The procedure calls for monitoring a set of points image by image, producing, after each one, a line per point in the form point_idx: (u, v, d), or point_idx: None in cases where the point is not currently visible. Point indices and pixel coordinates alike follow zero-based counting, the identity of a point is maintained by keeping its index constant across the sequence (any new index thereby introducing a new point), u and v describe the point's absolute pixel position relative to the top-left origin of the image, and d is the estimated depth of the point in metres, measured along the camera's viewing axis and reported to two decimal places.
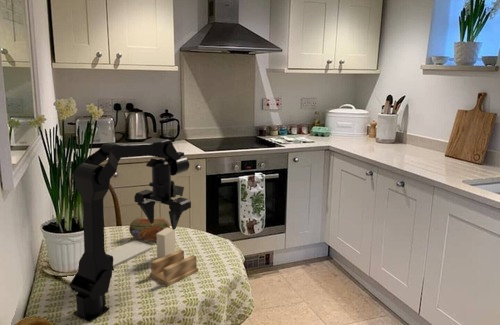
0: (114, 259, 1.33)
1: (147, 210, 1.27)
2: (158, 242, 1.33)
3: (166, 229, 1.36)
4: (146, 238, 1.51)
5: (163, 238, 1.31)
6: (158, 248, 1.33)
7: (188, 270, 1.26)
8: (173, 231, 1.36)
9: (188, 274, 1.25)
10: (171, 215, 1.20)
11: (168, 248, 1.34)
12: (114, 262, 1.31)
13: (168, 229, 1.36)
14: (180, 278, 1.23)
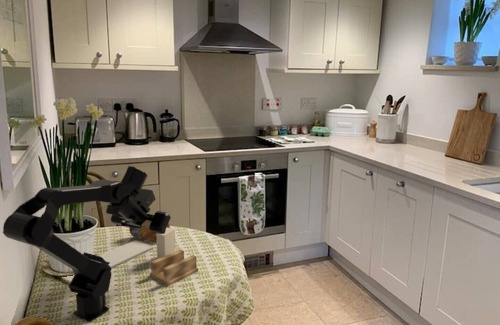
0: (114, 259, 1.33)
1: (130, 225, 1.25)
2: (158, 242, 1.33)
3: (166, 229, 1.36)
4: (146, 238, 1.51)
5: (163, 238, 1.31)
6: (158, 248, 1.33)
7: (188, 270, 1.26)
8: (173, 231, 1.36)
9: (188, 274, 1.25)
10: None
11: (168, 248, 1.34)
12: (114, 262, 1.31)
13: (168, 229, 1.36)
14: (180, 278, 1.23)
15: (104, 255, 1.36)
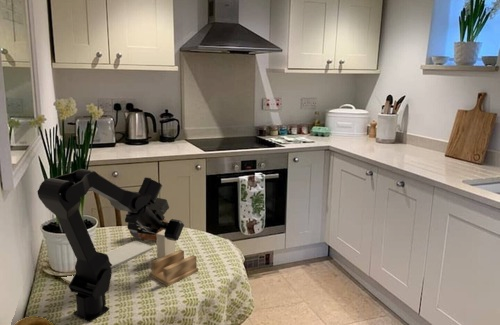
0: (114, 259, 1.33)
1: (145, 231, 1.32)
2: (158, 242, 1.33)
3: None
4: (146, 238, 1.51)
5: (163, 238, 1.31)
6: (158, 248, 1.33)
7: (188, 270, 1.26)
8: None
9: (188, 274, 1.25)
10: None
11: (168, 248, 1.34)
12: (114, 262, 1.31)
13: None
14: (180, 278, 1.23)
15: None
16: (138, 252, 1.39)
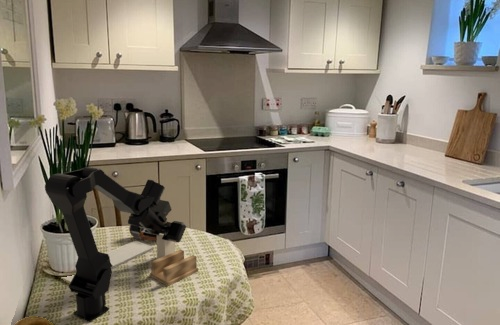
0: (115, 259, 1.33)
1: (155, 235, 1.33)
2: (158, 242, 1.33)
3: None
4: (146, 238, 1.51)
5: None
6: (158, 248, 1.33)
7: (188, 270, 1.26)
8: None
9: (188, 274, 1.25)
10: (165, 239, 1.29)
11: (168, 248, 1.34)
12: (115, 262, 1.31)
13: None
14: (180, 278, 1.23)
15: None
16: (138, 252, 1.38)
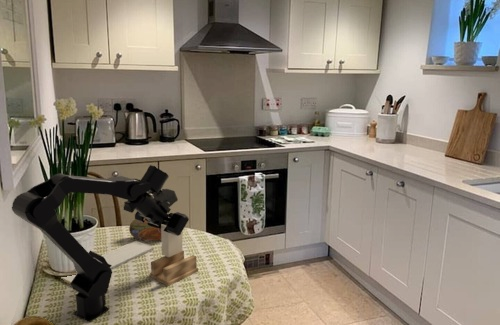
0: (115, 260, 1.33)
1: (159, 226, 1.24)
2: (162, 234, 1.24)
3: None
4: (146, 238, 1.51)
5: None
6: (163, 240, 1.24)
7: (188, 270, 1.26)
8: None
9: (188, 274, 1.25)
10: (167, 231, 1.20)
11: (173, 242, 1.25)
12: (115, 263, 1.31)
13: None
14: (180, 278, 1.23)
15: (105, 256, 1.35)
16: (138, 252, 1.38)
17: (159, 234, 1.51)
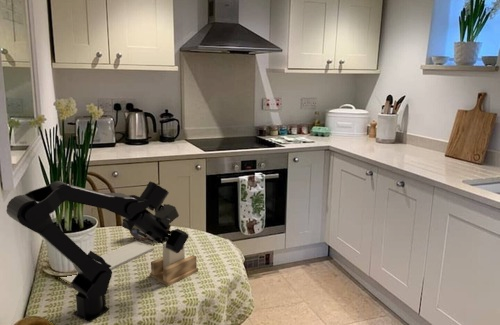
0: (115, 260, 1.32)
1: (159, 240, 1.24)
2: (164, 252, 1.23)
3: None
4: (146, 238, 1.51)
5: (168, 249, 1.22)
6: (164, 259, 1.24)
7: (188, 270, 1.26)
8: None
9: (188, 274, 1.25)
10: None
11: (174, 260, 1.24)
12: (115, 263, 1.30)
13: None
14: (180, 278, 1.23)
15: (105, 256, 1.35)
16: (139, 252, 1.38)
17: None
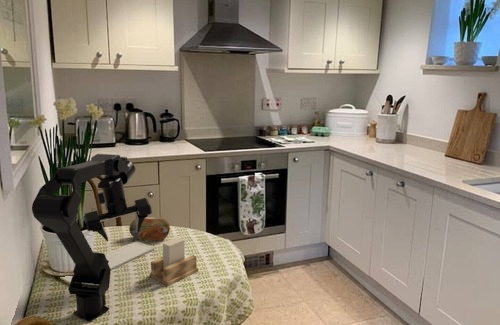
0: (115, 260, 1.32)
1: (104, 231, 1.17)
2: (164, 252, 1.23)
3: (175, 239, 1.26)
4: (146, 238, 1.51)
5: (168, 249, 1.22)
6: (164, 259, 1.24)
7: (188, 270, 1.26)
8: (182, 242, 1.25)
9: (188, 274, 1.25)
10: (141, 220, 1.20)
11: (174, 260, 1.24)
12: (115, 263, 1.30)
13: (177, 239, 1.26)
14: (180, 278, 1.23)
15: None
16: (139, 253, 1.38)
17: (159, 234, 1.51)
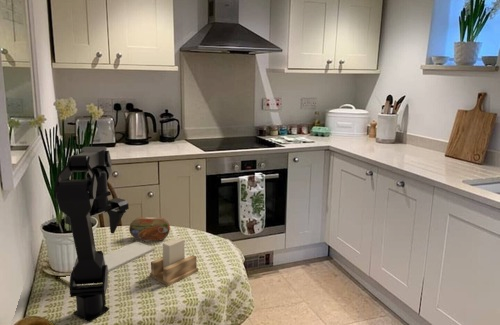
0: (116, 260, 1.32)
1: None
2: (164, 252, 1.23)
3: (175, 239, 1.26)
4: (146, 238, 1.51)
5: (168, 249, 1.22)
6: (164, 259, 1.24)
7: (188, 270, 1.26)
8: (182, 242, 1.25)
9: (188, 274, 1.25)
10: (120, 216, 1.23)
11: (174, 260, 1.24)
12: (116, 263, 1.30)
13: (177, 239, 1.26)
14: (180, 278, 1.23)
15: (105, 256, 1.35)
16: (139, 253, 1.38)
17: (159, 234, 1.51)
